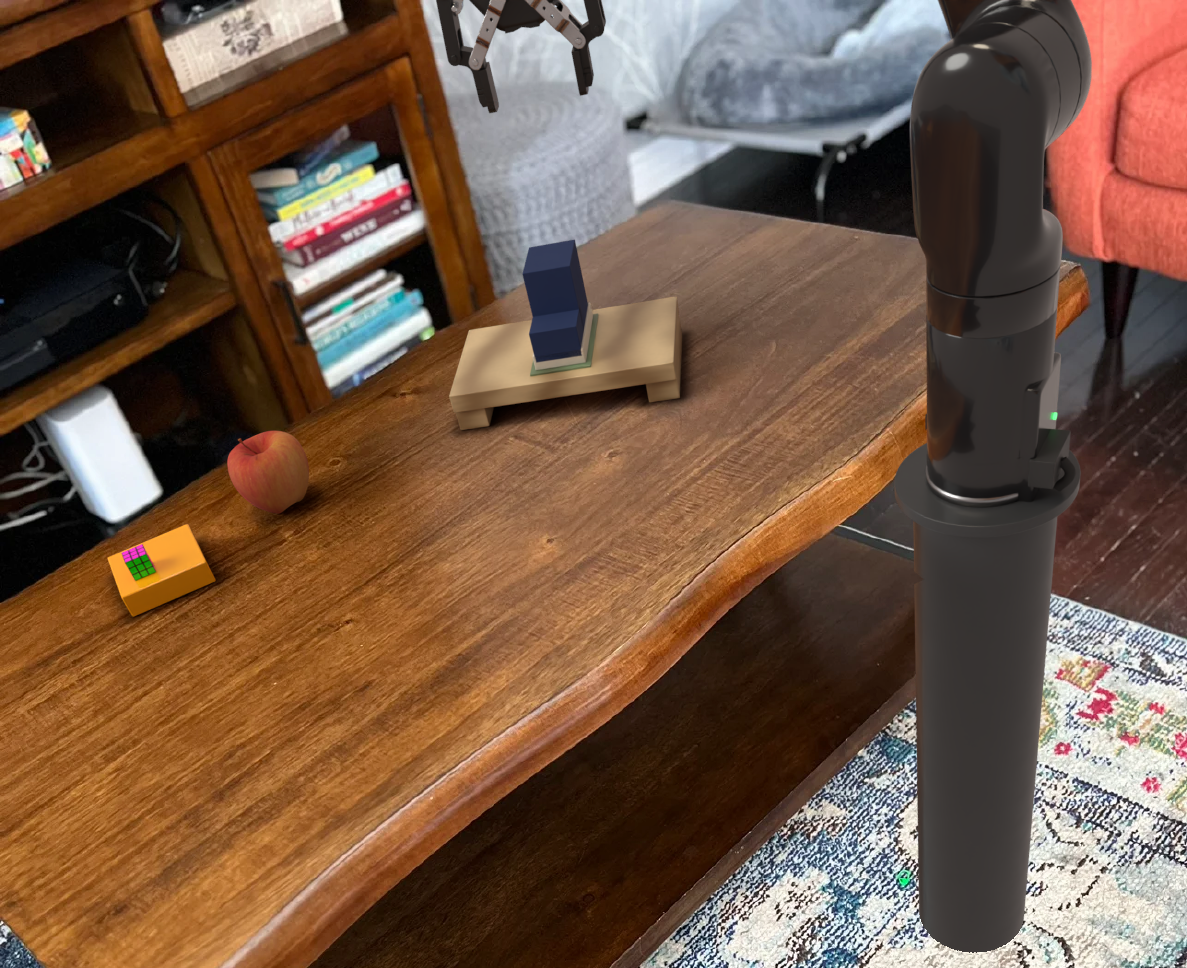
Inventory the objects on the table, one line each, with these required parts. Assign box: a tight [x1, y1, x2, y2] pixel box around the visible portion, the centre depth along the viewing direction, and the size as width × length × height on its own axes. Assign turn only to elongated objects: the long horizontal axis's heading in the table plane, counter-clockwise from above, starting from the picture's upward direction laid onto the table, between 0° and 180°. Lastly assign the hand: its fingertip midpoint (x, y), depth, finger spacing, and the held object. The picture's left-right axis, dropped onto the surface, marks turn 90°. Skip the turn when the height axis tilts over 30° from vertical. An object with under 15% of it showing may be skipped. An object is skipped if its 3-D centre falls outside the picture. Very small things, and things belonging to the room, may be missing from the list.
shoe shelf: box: [448, 296, 683, 431], centre depth 123 cm, size 22×14×4 cm, turn 86°
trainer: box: [521, 239, 593, 370], centre depth 119 cm, size 10×5×8 cm, turn 176°
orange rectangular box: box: [107, 523, 216, 618], centre depth 112 cm, size 8×8×4 cm
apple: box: [226, 430, 310, 515], centre depth 116 cm, size 7×7×8 cm
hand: (539, 101), depth 113 cm, fingers open, 8 cm apart
